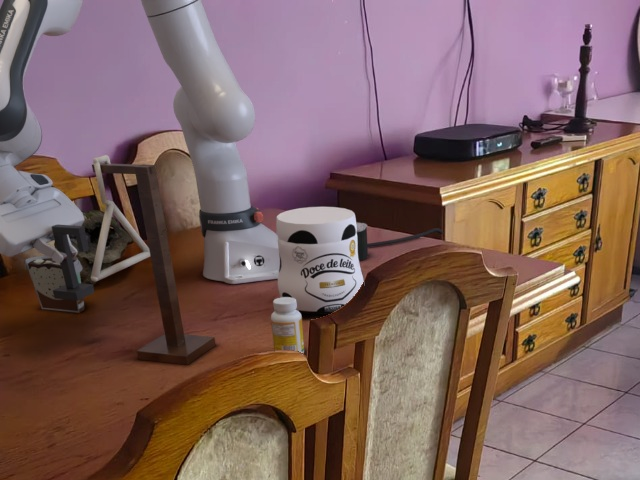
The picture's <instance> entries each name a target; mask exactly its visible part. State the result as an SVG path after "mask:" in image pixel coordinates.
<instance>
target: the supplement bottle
mask: <svg viewBox="0 0 640 480" xmlns="http://www.w3.org/2000/svg"><path fill="white" fill-rule="evenodd" d="M272 307H273V310H274V311H273V312H272V313H271V314H270V325H271V333H272V341H273V342H272V344H273V351H274V350H294V351H299V352H301V353H303V354H304V353H305V341H304V330H303V329H304V328H303V317H302V313H300V312H299V311H297V310H295V309H296V308H297V303H296V299H294V298H291V297H281V298H280V297H277V298H274V299H273V301H272Z"/></svg>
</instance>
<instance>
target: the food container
mask: <svg viewBox="0 0 640 480" xmlns="http://www.w3.org/2000/svg"><path fill="white" fill-rule="evenodd" d="M24 261H25V262H24V267H25V271H28V273H29V276H30V278H31V281H32V284H33V287H34V290H35V294H36V297H37V299H38V303H39V304H40V307H41V308H40V309H41V310H48V311H58V312H66V313H67V312H68V313H76V314H77V313H78V314H79V313H82V312H83V311H84V310H85V301H84V298H82V299H80V300H78V301H76V300H66V299H55V298H54V294H53V290H55V289H57V288H59V287H61V286H63V285H66V284H65V280H64V276H63V272H62V268H61V264H57V263H56V262H55V261H54V260H53V259H52V258H51V257H48V256H46V255H44V254H42V255H37V256H32V257H28V258H26V259H25V260H24ZM73 262H74V267H75V271H76V275H77V279H78V283H81V279H80V272H81V271H82V266H81V264H80V261H79V260H78V259H77V257H74V258H73Z"/></svg>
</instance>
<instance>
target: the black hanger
mask: <svg viewBox="0 0 640 480" xmlns="http://www.w3.org/2000/svg"><path fill="white" fill-rule="evenodd" d="M52 231H53V235H54V239H55V241H54V242H55V243H56V247H57V249H61V250H62V251H63V252H64V253H65V254H66V255H67V258H66V259H65V261H64V262H62V263H60V264H61V268H62V272H63V276H64V280H65V284H66V285H63V286H61V287H59V288H57V289H55V290H53V294H54V298H55V299H66V300H76V301H78V300H80V299H82V298H83V299H84V298H86V297H88V296H91V295H92V294H94V293H95V288H94V285H93V284H82V283H78V279H77V275H76V271H75V267H74V262H73V258H72V254H71V250H70V246H69V241H68V237H67V235H75V236H76V240H77V245H78V249H79V252H85V251H87V250H89V247H88V242H87V238H86V234H85V229H84V226H73V225H58V224H57V225H54V226H52Z"/></svg>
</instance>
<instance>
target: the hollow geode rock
mask: <svg viewBox="0 0 640 480" xmlns="http://www.w3.org/2000/svg"><path fill="white" fill-rule="evenodd" d="M80 211H81V212H82V213H83V216H84V222H83V224H82V226H84V229H85V234H86V238H87V242H88V247H89V250H87V251H85V252H79V249H78V245H77V240H76V236H75V235H68V236H69V238H70V241H71V244H72V245H73V246H74V247H75V248H76V249H77V251H78V253H77V255H76V257H77V259H78V260H79V261H80V264H81V266H82V271H81V272H80V279H81V283H82V284H93V286H94V285H96V284H97V282H98V281H96V282H94V281H92V280H91V274H92V269H93V265H94V260H95V255H96V251H97V246H98V241H99V237H100V232H101V227H102V223H103V218H104V213H105V211H103V210H101V209H100V210H97V209H96V210H95V209H93V210H92V209H91V210H88V211H85V210H84V211H83V210H80ZM133 241H134V240H133V238H132V237H131V236H130V234H129V233H128V232H127V231H126V229H123V227H121V226H119V223H118V219H117V218H116V217H113V216H112V218H111V223H110V227H109V232H108V237H107V241H106V246H105V251H104V255H103V260H102V265H101V270H100V271H102V270H104V269H106V268H108V267H111V266H113V265H114V263H115V261H116V260H120V259H121V257H122V256H123V255H124V254H125V251H126V248H127V246H128V243H130V244H131V243H132V242H133ZM53 247H54V248H56V249H57V247H56V243H55V241H54V243H53Z"/></svg>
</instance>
